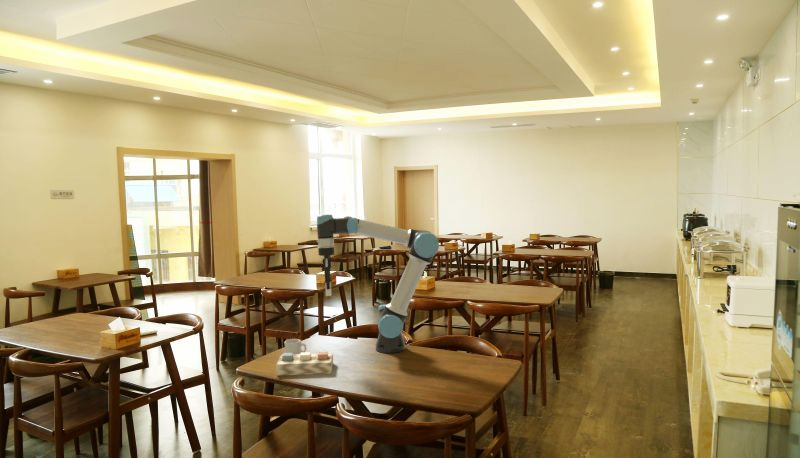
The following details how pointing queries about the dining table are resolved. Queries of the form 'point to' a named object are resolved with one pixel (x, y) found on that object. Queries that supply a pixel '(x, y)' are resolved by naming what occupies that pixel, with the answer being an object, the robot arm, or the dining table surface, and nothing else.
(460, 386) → the dining table surface
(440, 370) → the dining table surface
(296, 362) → the console
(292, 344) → the cup
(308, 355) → the key cream
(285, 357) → the key slate
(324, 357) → the key terracotta
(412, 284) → the robot arm
